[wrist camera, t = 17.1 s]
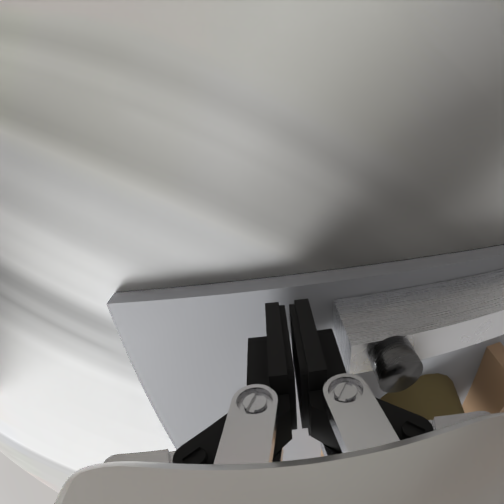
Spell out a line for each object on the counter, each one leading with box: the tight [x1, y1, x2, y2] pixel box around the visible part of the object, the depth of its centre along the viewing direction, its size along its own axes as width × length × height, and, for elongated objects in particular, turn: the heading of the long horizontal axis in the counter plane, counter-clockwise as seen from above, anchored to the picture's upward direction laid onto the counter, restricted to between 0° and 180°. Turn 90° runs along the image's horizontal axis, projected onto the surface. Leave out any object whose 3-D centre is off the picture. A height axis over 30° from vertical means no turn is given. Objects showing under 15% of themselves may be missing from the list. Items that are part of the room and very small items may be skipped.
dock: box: [107, 245, 504, 461], centre depth 14 cm, size 16×24×4 cm, turn 97°
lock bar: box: [333, 269, 504, 393], centre depth 11 cm, size 2×10×4 cm, turn 97°
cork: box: [380, 373, 464, 420], centre depth 11 cm, size 6×6×11 cm
